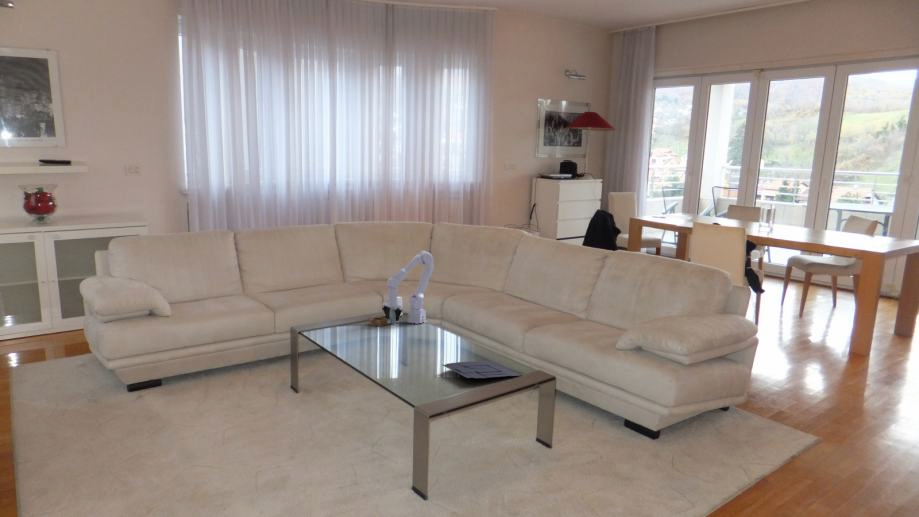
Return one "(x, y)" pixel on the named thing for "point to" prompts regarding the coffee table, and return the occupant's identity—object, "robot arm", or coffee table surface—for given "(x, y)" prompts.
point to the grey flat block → (480, 369)
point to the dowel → (392, 316)
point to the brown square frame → (378, 321)
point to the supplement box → (398, 302)
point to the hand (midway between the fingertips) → (392, 319)
